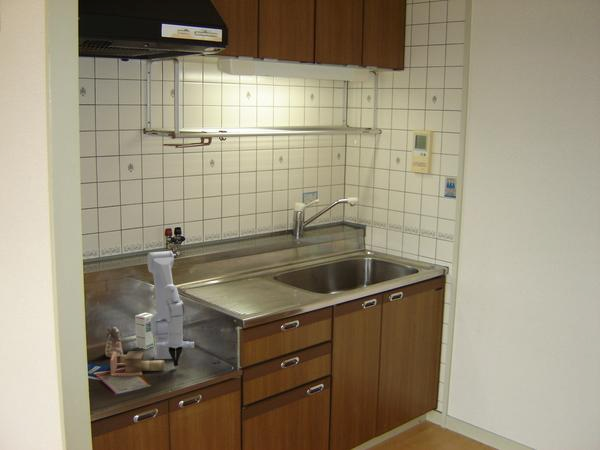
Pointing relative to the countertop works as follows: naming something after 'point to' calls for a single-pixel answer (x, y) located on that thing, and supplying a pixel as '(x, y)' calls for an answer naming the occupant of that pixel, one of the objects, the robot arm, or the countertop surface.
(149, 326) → the syrup box
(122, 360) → the short dowel
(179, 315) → the robot arm
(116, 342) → the figurine
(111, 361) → the end wall and guide rails
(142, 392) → the countertop surface
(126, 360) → the block
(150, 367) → the dowel
